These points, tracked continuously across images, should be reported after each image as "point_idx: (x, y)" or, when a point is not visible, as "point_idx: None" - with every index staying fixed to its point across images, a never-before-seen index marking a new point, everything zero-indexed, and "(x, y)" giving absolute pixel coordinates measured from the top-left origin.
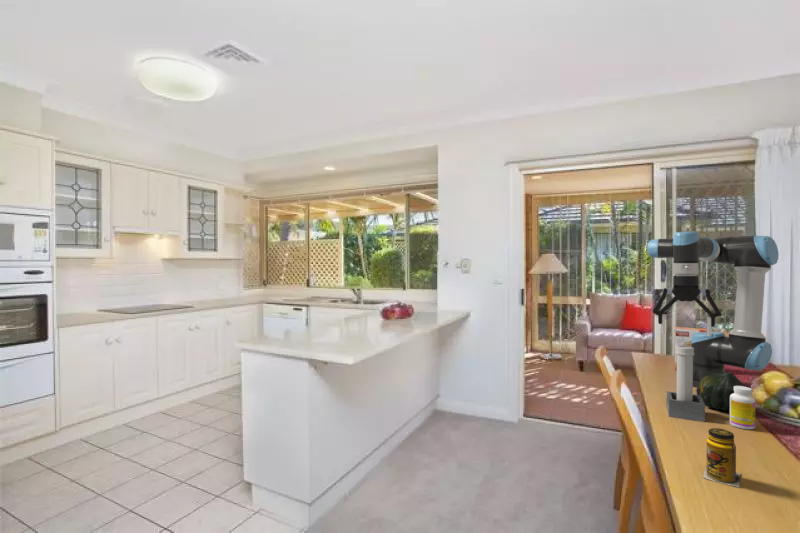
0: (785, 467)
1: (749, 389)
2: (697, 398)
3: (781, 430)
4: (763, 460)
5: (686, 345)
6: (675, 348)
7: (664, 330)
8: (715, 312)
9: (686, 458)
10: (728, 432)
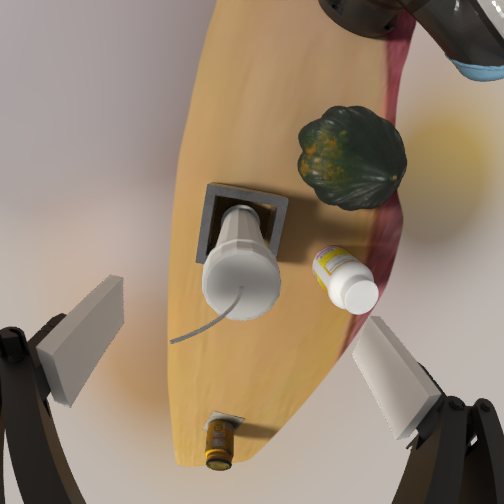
0: (305, 393)
1: (370, 306)
2: (274, 217)
3: (384, 265)
4: (289, 385)
5: None
6: None
7: (114, 334)
8: (474, 423)
9: (194, 401)
10: (226, 466)
